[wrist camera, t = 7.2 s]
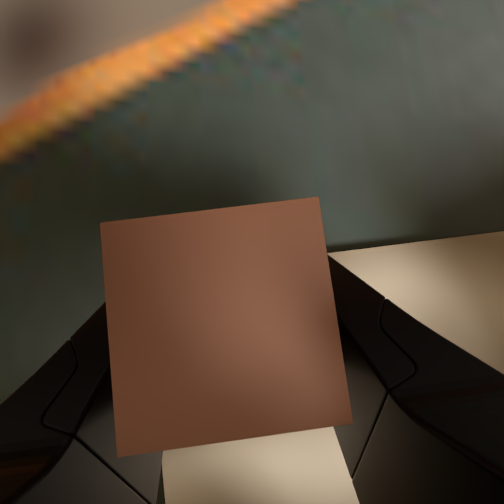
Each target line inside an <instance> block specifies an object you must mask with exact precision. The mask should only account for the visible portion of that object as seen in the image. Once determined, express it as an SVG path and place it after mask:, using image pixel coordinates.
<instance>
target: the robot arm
mask: <svg viewBox="0 0 504 504" xmlns="http://www.w3.org/2000/svg"><path fill="white" fill-rule="evenodd" d="M327 256H328V262H329V269H330V275H331V282H332V288H333V295H334V301H335V308H336V314H337V321H338V327H339V334H340V340H341V347H342V353H343V360H344V366H345V373H346V379H347V386H348V392H349V399H350V405H351V412H352V418H353V424H347V425H340V426H333V428H334V430H335V433H336V436H337V439H338V442H339V445H340V448H341V451H342V454H343V457H344V460H345V463H346V465H347V468H348V471H349V474H350V477H351V479H353V480H352V483H353V486H354V489H355V492H356V495H357V498H358V501H359V504H504V374H503V373H501V372H499V371H498V370H496V369H495V368H493V367H491V366H490V365H488V364H486V363H485V362H483V361H482V360H480V359H478V358H477V357H475V356H473V355H472V354H470V353H469V352H467V351H465V350H464V349H462V348H460V347H459V346H457V345H456V344H454V343H452V342H451V341H449V340H448V339H446V338H444V337H443V336H441V335H440V334H438V333H436V332H435V331H433V330H432V329H430V328H429V327H427V326H426V325H424V324H422V323H421V322H419V321H418V320H416V319H415V318H414V317H412V316H411V315H409V314H408V313H407V312H405V311H404V310H402V309H401V308H400V307H398V306H397V305H395V304H394V303H393V302H391V301H390V300H389V299H385V297H384V296H383V295H382V294H380V293H379V292H378V291H376V290H375V289H374V288H372V287H371V286H370V285H368V284H367V283H366V282H364V281H363V280H362V279H360V278H359V277H358V276H356V275H355V274H354V273H352V272H351V271H350V270H348V269H347V268H345V267H344V266H343V265H341V264H340V263H339V262H337V261H336V260H335V259H333V258H332V257H331V256H329V255H328V254H327ZM70 340H71V341H70ZM70 340H68V341H66V342H65V344H64V345H63V346H62V347H61V348H60V349H59V350H58V351H57V352H56V353H55V354H54V355H53V356H52V357H51V358H50V359H49V360H48V361H47V362H46V363H45V364H44V365H43V366H42V367H41V368H40V369H39V370H38V371H37V372H36V373H35V374H33V375H32V376H31V377H30V378H29V379H28V380H27V381H26V382H25V383H24V384H23V385H21V386H20V387H19V388H18V389H17V390H16V391H15V392H14V393H13V394H12V395H11V396H10V397H8V398H7V399H6V400H5V401H4V402H3V403H2V404H1V405H0V504H156V501H157V494H158V486H159V479H160V471H161V463H162V456H163V451H159V452H152V453H145V454H138V455H131V456H124V457H117V447H116V434H115V421H114V407H113V394H112V380H111V367H110V353H109V340H108V327H107V313H106V301H105V302H104V303H103V305H102V306H101V307H100V308H99V309H98V310H97V311H96V312H95V313H94V314H93V315H92V316H91V317H90V318H89V319H88V320H87V321H86V322H85V323H84V324H83V325H82V326H81V327H80V328H79V329H78V330H77V331H76V332H75V333H74V334H73V335H72V336H71V338H70Z"/></svg>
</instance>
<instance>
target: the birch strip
mask: <svg viewBox="0 0 504 504" xmlns="http://www.w3.org/2000/svg"><path fill="white" fill-rule="evenodd" d="M100 233H101V246H102V260H103V273H104V286H105V300H106V313H107V327H108V340H109V353H110V367H111V380H112V394H113V407H114V421H115V434H116V447H117V457H124V456H131V455H138V454H145V453H152V452H159V451H163V456H162V471H163V483H164V494H165V504H359V501H358V498H357V495H356V492H355V489H354V486H353V483H352V480H353V479H351V477H350V474H349V471H348V468H347V465H346V463H345V460H344V457H343V454H342V451H341V448H340V445H339V442H338V439H337V436H336V433H335V430H334V428H333V426H340V425H347V424H353V418H352V412H351V405H350V399H349V392H348V386H347V379H346V373H345V366H344V360H343V353H342V347H341V340H340V334H339V327H338V321H337V314H336V308H335V301H334V295H333V288H332V282H331V275H330V269H329V262H328V256H327V254H328V255H329V256H331V257H332V258H333V259H335V260H336V261H337V262H339V263H340V264H341V265H343V266H344V267H345V268H347V269H348V270H350V271H351V272H352V273H354V274H355V275H356V276H358V277H359V278H360V279H362V280H363V281H364V282H366V283H367V284H368V285H370V286H371V287H372V288H374V289H375V290H376V291H378V292H379V293H380V294H382V295H383V296H384V297H385V299H389V300H390V301H391V302H393V303H394V304H395V305H397V306H398V307H400V308H401V309H402V310H404V311H405V312H407V313H408V314H409V315H411V316H412V317H414V318H415V319H416V320H418V321H419V322H421V323H422V324H424V325H426V326H427V327H429V328H430V329H432V330H433V331H435V332H436V333H438V334H440V335H441V336H443V337H444V338H446V339H448V340H449V341H451V342H452V343H454V344H456V345H457V346H459V347H460V348H462V349H464V350H465V351H467V352H469V353H470V354H472V355H473V356H475V357H477V358H478V359H480V360H482V361H483V362H485V363H486V364H488V365H490V366H491V367H493V368H495V369H496V370H498V371H499V372H501V373H503V374H504V231H501V232H493V233H485V234H477V235H469V236H461V237H453V238H445V239H437V240H429V241H421V242H413V243H405V244H397V245H389V246H381V247H373V248H365V249H357V250H349V251H341V252H333V253H327V249H326V243H325V236H324V230H323V223H322V217H321V210H320V204H319V197H311V198H303V199H294V200H286V201H278V202H269V203H261V204H252V205H244V206H236V207H227V208H219V209H210V210H202V211H194V212H185V213H177V214H168V215H160V216H152V217H143V218H135V219H126V220H118V221H110V222H101V223H100Z"/></svg>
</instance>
